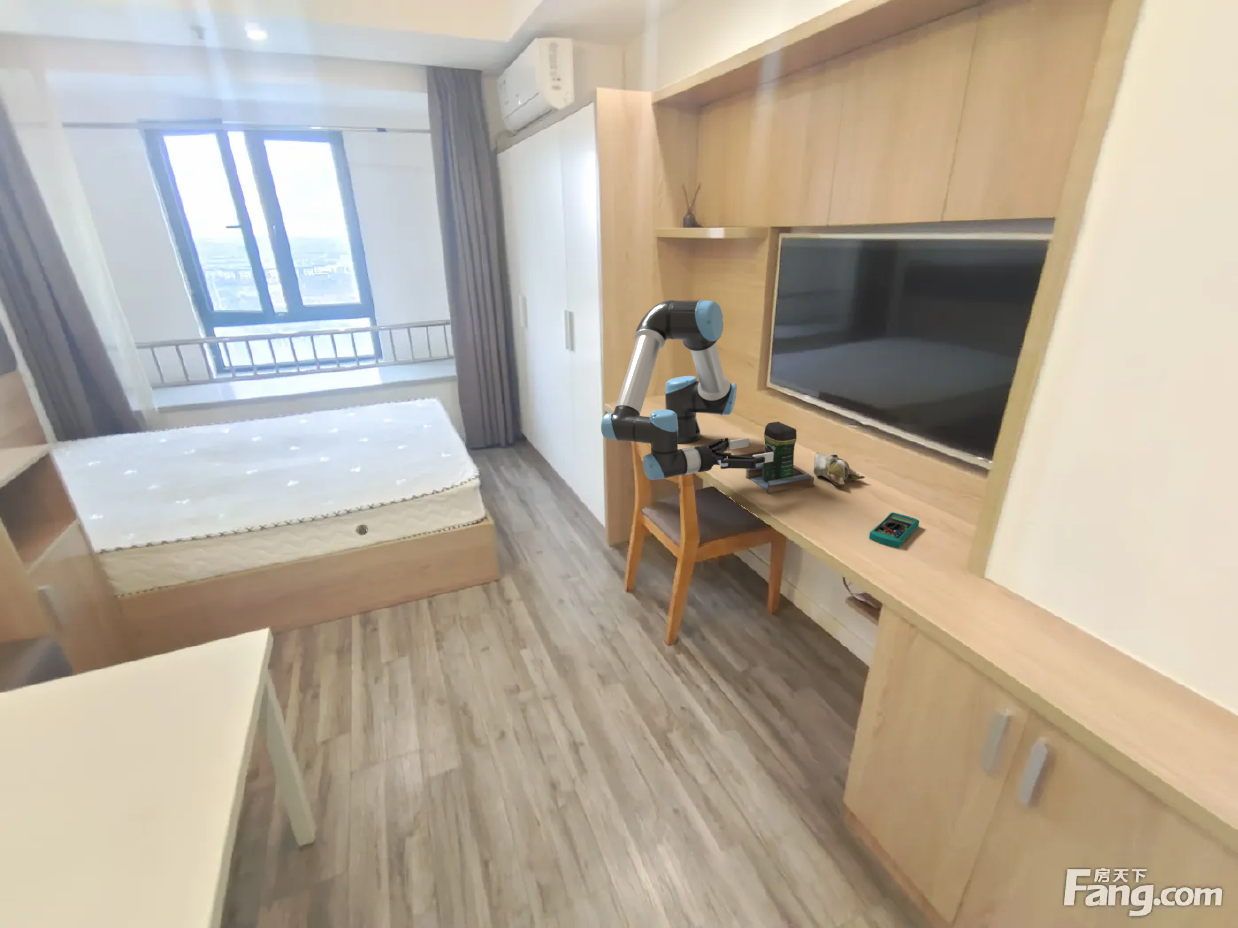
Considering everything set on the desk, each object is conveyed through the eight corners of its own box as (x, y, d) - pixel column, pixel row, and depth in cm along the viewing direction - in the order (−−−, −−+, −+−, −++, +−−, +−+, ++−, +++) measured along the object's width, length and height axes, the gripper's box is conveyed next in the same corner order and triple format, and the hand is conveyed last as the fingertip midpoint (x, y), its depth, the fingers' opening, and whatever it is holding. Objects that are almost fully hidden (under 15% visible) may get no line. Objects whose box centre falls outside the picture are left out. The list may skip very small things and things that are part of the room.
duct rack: (727, 464, 188) (727, 453, 187) (766, 457, 193) (767, 447, 191) (770, 494, 165) (770, 483, 164) (813, 486, 169) (814, 474, 168)
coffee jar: (797, 484, 170) (802, 427, 163) (775, 489, 168) (779, 431, 161) (778, 473, 179) (782, 418, 172) (757, 477, 176) (760, 421, 169)
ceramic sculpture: (827, 443, 178) (869, 459, 167) (824, 467, 182) (864, 485, 170) (805, 451, 173) (847, 468, 161) (802, 476, 176) (842, 494, 165)
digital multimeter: (867, 541, 139) (868, 530, 138) (889, 519, 149) (891, 509, 148) (897, 551, 134) (899, 540, 133) (918, 528, 144) (920, 518, 143)
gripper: (677, 457, 173) (738, 447, 179) (715, 488, 151) (783, 475, 157) (677, 434, 170) (739, 425, 176) (716, 462, 148) (784, 450, 154)
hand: (760, 449), depth 167 cm, fingers open, 13 cm apart
